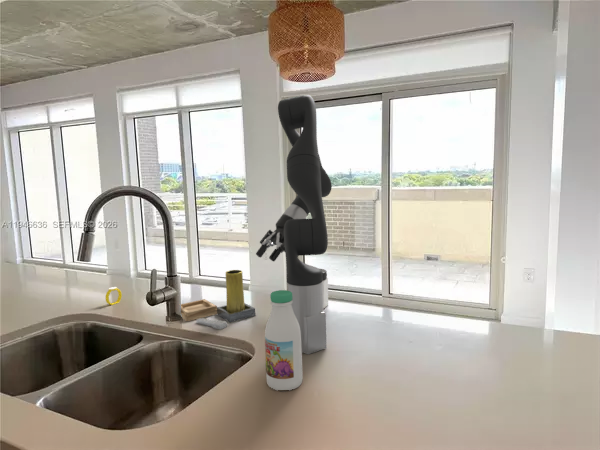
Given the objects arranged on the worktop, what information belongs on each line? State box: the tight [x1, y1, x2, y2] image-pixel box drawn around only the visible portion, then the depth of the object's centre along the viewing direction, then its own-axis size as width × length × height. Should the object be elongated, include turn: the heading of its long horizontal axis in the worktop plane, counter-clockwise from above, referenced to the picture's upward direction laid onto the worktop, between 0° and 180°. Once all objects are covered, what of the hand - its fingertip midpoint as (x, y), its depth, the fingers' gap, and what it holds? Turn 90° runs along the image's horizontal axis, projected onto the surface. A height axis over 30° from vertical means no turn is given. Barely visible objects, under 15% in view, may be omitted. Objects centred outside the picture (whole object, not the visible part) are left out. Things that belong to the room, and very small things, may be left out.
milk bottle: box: [264, 289, 303, 391], centre depth 87 cm, size 8×8×20 cm
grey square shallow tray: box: [216, 303, 256, 323], centre depth 131 cm, size 9×9×2 cm
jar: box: [319, 268, 329, 310], centre depth 138 cm, size 9×8×12 cm
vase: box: [225, 269, 246, 313], centre depth 131 cm, size 6×6×14 cm
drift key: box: [195, 317, 228, 330], centre depth 123 cm, size 10×3×1 cm, turn 56°
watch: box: [105, 286, 123, 306], centre depth 147 cm, size 6×3×6 cm, turn 155°
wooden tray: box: [180, 298, 218, 322], centre depth 134 cm, size 11×11×2 cm
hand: (264, 257), depth 136 cm, fingers open, 8 cm apart
